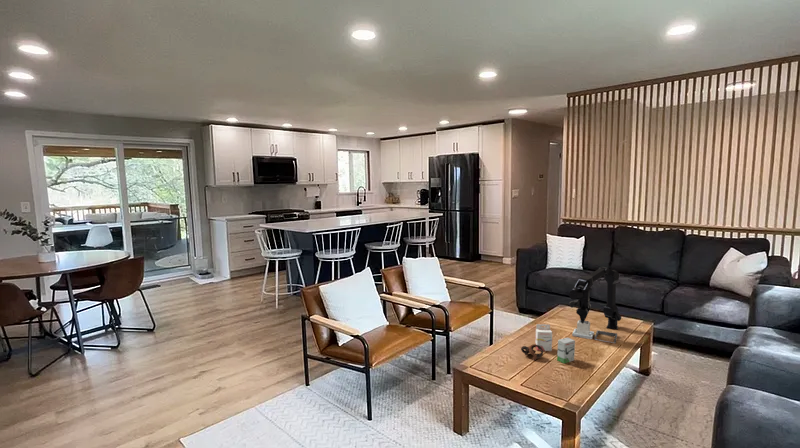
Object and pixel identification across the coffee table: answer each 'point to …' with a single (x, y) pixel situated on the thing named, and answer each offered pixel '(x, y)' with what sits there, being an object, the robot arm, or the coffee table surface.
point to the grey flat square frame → (606, 334)
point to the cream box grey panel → (583, 328)
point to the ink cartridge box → (543, 337)
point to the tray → (583, 335)
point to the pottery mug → (532, 351)
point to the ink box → (566, 350)
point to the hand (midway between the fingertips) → (583, 321)
